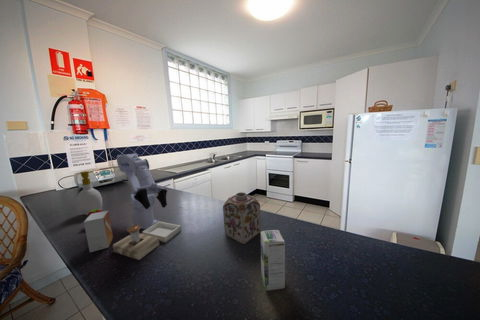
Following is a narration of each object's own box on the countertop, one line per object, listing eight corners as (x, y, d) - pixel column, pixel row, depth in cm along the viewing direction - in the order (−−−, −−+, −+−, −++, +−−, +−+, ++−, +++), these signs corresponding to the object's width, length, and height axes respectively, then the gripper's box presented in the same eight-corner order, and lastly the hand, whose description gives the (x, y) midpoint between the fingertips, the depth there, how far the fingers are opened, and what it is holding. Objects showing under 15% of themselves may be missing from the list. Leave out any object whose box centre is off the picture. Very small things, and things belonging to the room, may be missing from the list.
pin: (128, 250, 67) (124, 229, 65) (138, 243, 71) (135, 223, 69) (135, 253, 65) (132, 231, 64) (145, 245, 69) (142, 225, 68)
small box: (109, 247, 69) (103, 217, 67) (89, 253, 67) (82, 222, 65) (113, 237, 76) (108, 210, 74) (95, 241, 74) (90, 213, 72)
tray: (142, 237, 75) (142, 231, 75) (159, 226, 84) (159, 221, 84) (165, 242, 70) (165, 237, 70) (181, 230, 79) (180, 225, 79)
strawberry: (96, 228, 85) (93, 209, 84) (86, 227, 87) (82, 208, 86) (108, 222, 91) (105, 204, 89) (98, 221, 93) (94, 203, 91)
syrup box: (260, 274, 52) (259, 230, 50) (279, 272, 52) (278, 228, 50) (265, 291, 46) (263, 243, 44) (286, 288, 47) (285, 240, 45)
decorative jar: (261, 232, 74) (260, 192, 71) (244, 245, 66) (241, 201, 63) (241, 223, 82) (239, 187, 80) (223, 234, 74) (220, 195, 71)
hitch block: (114, 251, 66) (112, 244, 66) (135, 238, 75) (134, 232, 74) (139, 260, 61) (137, 252, 61) (159, 244, 69) (158, 237, 69)
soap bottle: (110, 210, 106) (102, 169, 102) (95, 217, 98) (86, 173, 94) (91, 209, 109) (83, 170, 105) (75, 216, 100) (66, 173, 96)
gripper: (134, 173, 68) (145, 201, 62) (165, 176, 80) (176, 199, 74) (125, 185, 69) (134, 213, 63) (157, 186, 82) (167, 209, 76)
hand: (156, 206), depth 69 cm, fingers open, 7 cm apart
